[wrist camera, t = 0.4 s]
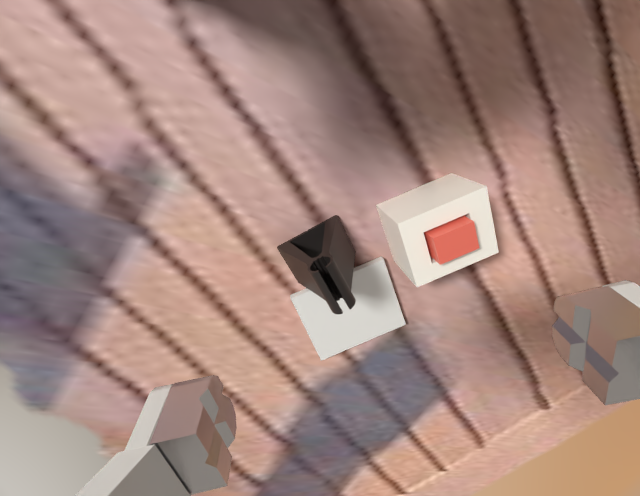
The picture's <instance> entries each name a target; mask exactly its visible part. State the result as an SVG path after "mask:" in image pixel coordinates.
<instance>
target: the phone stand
mask: <svg viewBox="0 0 640 496" xmlns="http://www.w3.org/2000/svg"><path fill="white" fill-rule="evenodd" d="M277 248H278V250H279V252H280V253H281V255H282V257H283V258H284V260H285V261H286V263H287V265H288V266H289V268H290V270H291V271H292V273H293V274H294V276H295V278H296V279H297V281H298V282H299V283H300V284H302V285H303V286H305V287H306V288H307V289H309V290H310V291H312V292H313V293H315V294H316V295H318V296H319V297H321V298H322V299H324V300H325V301H326V302H327V304H328V306H329V307H330V309H331V311H332V312H333V313H334V314H343V311H342V309H341V308H340V306H339V304H338V303H337V301H339V300H340V298H343V299H344V301H345V303H346V304H347V306H348V308H349V309H352V308H353V306H354V305H355V302H356V299H355V297H354V296H353V294H352V292H351V288H352V279H353V270H354V261H355V250H354V248H353V246H352V244H351V242H350V240H349V238H348V236H347V234H346V232H345V230H344V228H343V226H342V224H341V222H340V220H339V218H338V216H337V215H335V216H333V217H331V218H329V219H328V220H326V221H324V222H322V223H320V224H318V225H316V226H315V227H313V228H311V229H309V230H308V231H306V232H303V233H302V234H300V235H298V236H296V237H294V238H292V239H291V240H289V241H287V242H285V243H283V244H281V245H279V246H278V247H277Z"/></svg>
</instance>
